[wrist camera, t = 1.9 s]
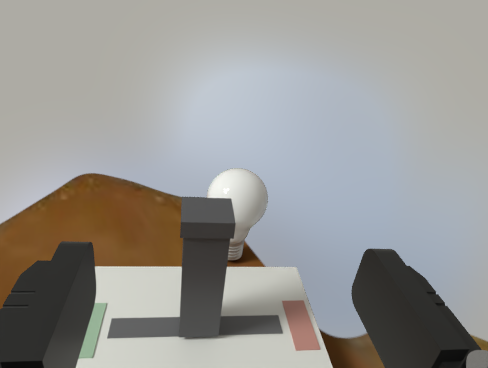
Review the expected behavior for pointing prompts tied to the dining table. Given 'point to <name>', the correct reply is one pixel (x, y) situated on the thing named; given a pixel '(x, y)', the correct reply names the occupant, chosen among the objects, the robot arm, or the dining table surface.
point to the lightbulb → (240, 202)
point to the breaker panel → (202, 348)
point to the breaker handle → (204, 263)
